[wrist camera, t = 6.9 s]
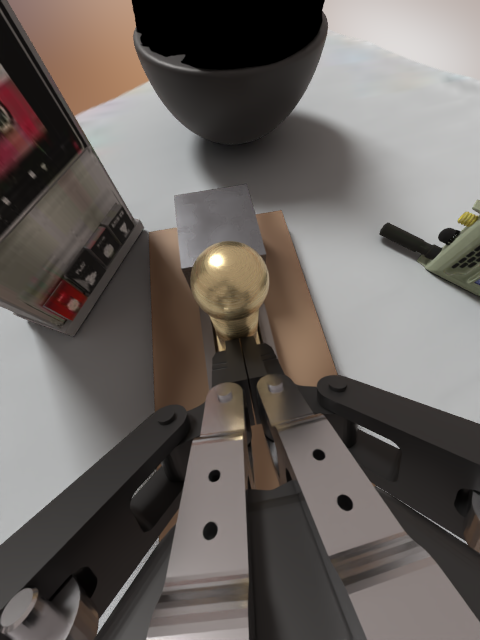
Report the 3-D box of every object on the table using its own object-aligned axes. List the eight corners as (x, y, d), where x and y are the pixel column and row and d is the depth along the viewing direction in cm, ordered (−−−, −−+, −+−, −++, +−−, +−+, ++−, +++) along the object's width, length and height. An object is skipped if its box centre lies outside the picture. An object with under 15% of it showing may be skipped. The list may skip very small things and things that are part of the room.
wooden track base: (179, 732, 13) (154, 844, 9) (155, 245, 26) (142, 220, 23) (424, 673, 13) (484, 759, 10) (279, 224, 26) (283, 197, 23)
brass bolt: (224, 374, 18) (184, 305, 7) (210, 282, 21) (168, 135, 10) (262, 367, 18) (283, 288, 7) (242, 276, 21) (235, 125, 10)
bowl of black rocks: (177, 196, 29) (67, -141, 11) (156, 108, 36) (72, -173, 19) (329, 162, 30) (438, -185, 13) (278, 84, 38) (303, -199, 20)
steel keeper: (196, 301, 21) (181, 268, 16) (188, 239, 23) (173, 195, 19) (262, 290, 21) (266, 253, 16) (247, 229, 24) (246, 183, 19)
